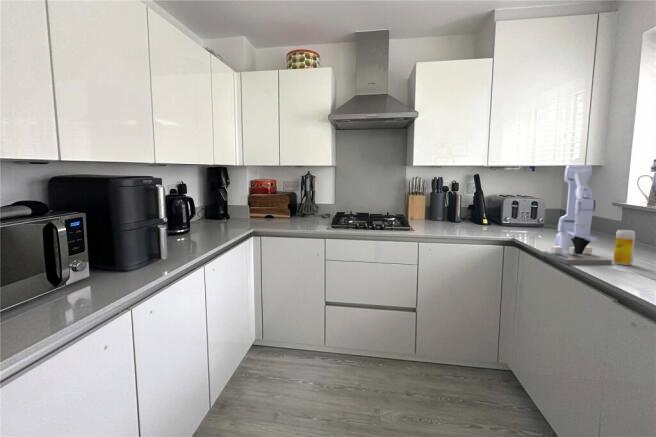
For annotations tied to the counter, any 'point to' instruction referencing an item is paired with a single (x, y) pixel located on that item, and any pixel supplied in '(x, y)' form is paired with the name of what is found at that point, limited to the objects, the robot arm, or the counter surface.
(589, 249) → the breaker right
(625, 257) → the yellow and white cylinder
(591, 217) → the robot arm
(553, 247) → the block
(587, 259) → the breaker board
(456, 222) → the counter surface
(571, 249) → the block
